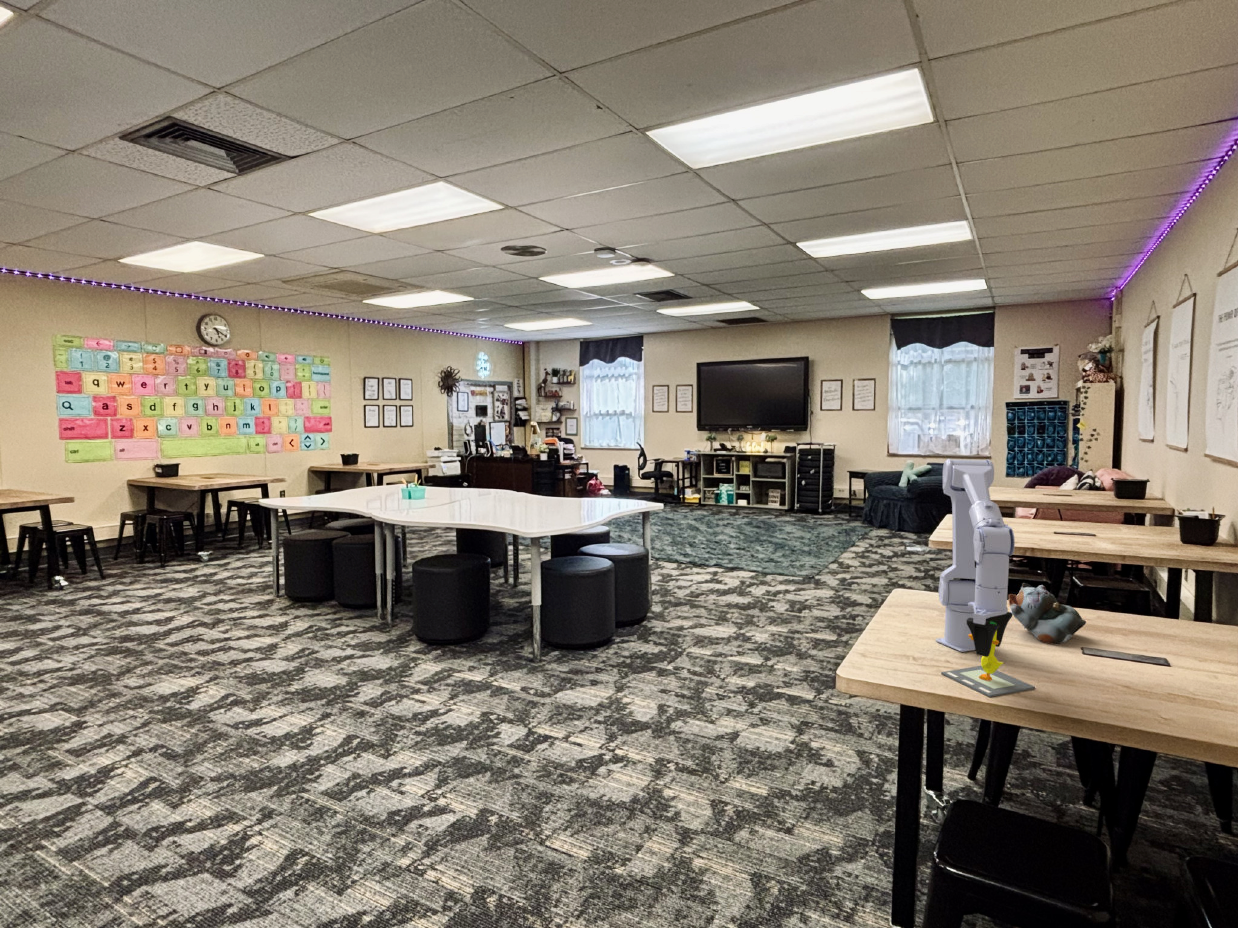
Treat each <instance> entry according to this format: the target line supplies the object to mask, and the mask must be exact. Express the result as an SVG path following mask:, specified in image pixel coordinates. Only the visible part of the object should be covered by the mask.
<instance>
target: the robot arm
mask: <svg viewBox="0 0 1238 928" xmlns="http://www.w3.org/2000/svg"><path fill="white" fill-rule="evenodd" d="M994 478H995V466H994V463H993V461H991V459H951V458H947V459H946V460H945V461H944V463H943V466H942V490H943V494H944V495H946V496H949V497H950V500H951V507H952V508H951V511H952V512H951V513H952V517H951V518H952V523H951V524H952V525H951V526H952V565H951V566H949V567H948V568H947V569H945V570H943V571H942V572H941V573H940V575H939V584H938V598H939V599H938V600H939V602H940V604H941V605H942V606H943V607H945V611H944V612H945V614H944V615H945V616H944V635H943V637H940V638H935V642H938V643H940V644H942V645H944V646H946V647H949V648H952V649H953V650H956V651H959V652H961V653H962V652H963V653H964V652H968V651H969V652H970V651H971V652H972V651H975V654H976V655H978V656H981V657H983V656H985V657H988V656H989V654H990V650H991V645H992V641H993V637H994V635H995V632H996V630H997V637H996V640H998V641H999V643H998V645H996V647H995V648H1000V646H1001V645H1002V642H1003V637H1004V634H1005V631H1006V628H1007V625H1008V624H1009V621H1010V620H1011V619H1012V618H1013V614H1012V613H1011V612H1010V611H1008V610H1009V609H1008V605H1007V604H1008V586H1009V569H1010V567H1009V565H1010V556H1012V555H1013V554H1014V552H1015V548H1016V547H1015V546H1016V545H1015V543H1016V542H1015V540H1016V539H1015V533H1014V530H1013V528H1012V526H1009V524H1008V523H1007V524H1006V523H1005V522H1004V519H1003V516H1002V513H1001V510H1000V507H999V505H998V504H997V503H996V502H994V501H992V500H991V494H990V487H992V486H991V485H992V484H993V482H994ZM959 579H960V580H959ZM961 579H967V580H961ZM968 579H969V580H968ZM990 622H994V623H996V624H997V625H996V624H991V623H990ZM969 634H972V636H973V640H974V641H972V640H971V638H970V637H969V636H968V635H969Z"/></svg>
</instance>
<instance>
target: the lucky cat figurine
mask: <svg viewBox="0 0 1238 928" xmlns="http://www.w3.org/2000/svg"><path fill="white" fill-rule="evenodd" d="M1019 589H1020V590H1019V592H1018V594H1017V595H1016V594H1013V593H1010V594H1008V595H1007V598H1008V600H1007V603H1008V606H1009V610H1010V611H1009V612H1011V613H1012V614H1013V615H1012V617H1014V618H1015V620H1017V621H1018V622H1019V623H1020V624H1021V625H1022V626H1023V628H1024V630H1027V631H1028V632H1030V633H1031V634H1032V635H1034V637H1035V638H1036V639H1037V640H1038V641H1040V642H1042V643H1044V644H1051V645H1056V646H1057V645H1060V644H1063V643H1066V642H1067V641H1069V640H1071V639H1072V637H1074V635H1075V634H1076V633H1077V632H1078V631H1079V630H1080V629H1081V628H1083V627H1084V626H1085V625H1086V623H1087V621H1086V620H1085V619H1083V618H1082V616H1081V615H1080V613H1079V612H1078V611H1077V610H1076V608H1074V607H1072V606H1071V605H1066V604H1060V602H1059V601H1058V600H1057V599H1058V598H1056V597H1055V595H1054V594H1052V593H1051V592H1049V591H1048V590H1047V588H1046V586H1045V585H1043V584H1041V585H1038V586H1037V587H1034V586H1032V585H1031V584H1029V583H1026V582H1023V583H1021V587H1020V588H1019Z"/></svg>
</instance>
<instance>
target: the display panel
mask: <svg viewBox="0 0 1238 928" xmlns="http://www.w3.org/2000/svg"><path fill="white" fill-rule="evenodd" d="M940 674H941V675H942V676H944V677H947V678H949V679H951V680H953V681H955V682H957V683H958V684H961V685H963V686H965V687H967V688H969V689H971V690H973V691H975V692H978V693H980V694H982V695H984V696H986V697H988V698H992V697H997V696H1003V695H1009V694H1014V693H1019V692H1025V691H1029V690H1034V689H1036V686H1035V685H1032V684H1029V683H1028V682H1026V681H1024V680H1021V679H1019V678H1016V677H1013V676H1011V675H1009V674H1007V673H1004V672H1002V671H1000V670H998V669H997V670H996V671H995V672H994V673H992V674H990V676H991V677H992V680H990V681H987V680H982V679H980V678H979V676H981V674H986V672H985V671H984V670H983V668H982V666H981V665H976V666H971V667H965V668H958V669H957V668H956V669H952V670H947V671H941V672H940Z"/></svg>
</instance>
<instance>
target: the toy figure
mask: <svg viewBox="0 0 1238 928" xmlns="http://www.w3.org/2000/svg"><path fill="white" fill-rule="evenodd" d="M990 623H991V624H996V623H994V622H990ZM996 625H997V624H996ZM968 636H969V637H970V638H971V640H972V641H974V640H973V636H972V634H969V635H968ZM996 637H997V630H996V632H995V635H994V637H993V641H992V645H991V650H990V654H989V656H988V657H985V656H981V660H980V662H981V664H980V666H982V668H983V670H984V671H985V672H986V674H981V676H979V678H980V679H982V680H987V681H990V680H992V677H991V676H990V674H992V673H994V672H995V671H996V670H997V671H998V669H999V668H1000V667H1001V666H1002V665H1003V664H1004V661H999V660H998V658H997V657H996V656H995V652H996V648H997V647H996V645H998V643H999V641H998V640H996Z"/></svg>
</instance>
